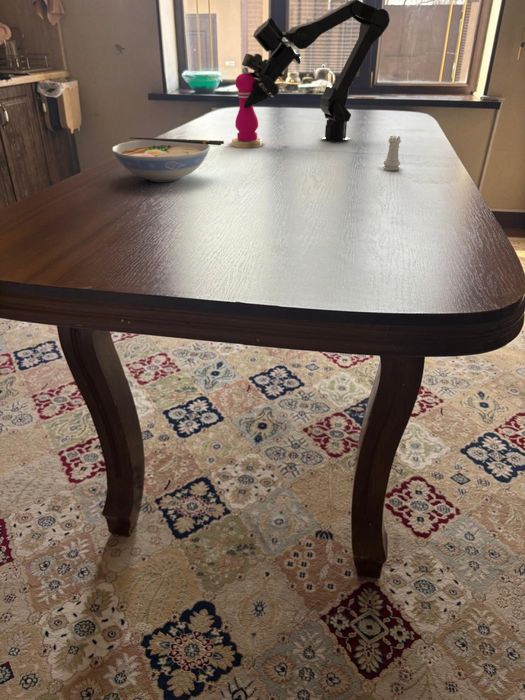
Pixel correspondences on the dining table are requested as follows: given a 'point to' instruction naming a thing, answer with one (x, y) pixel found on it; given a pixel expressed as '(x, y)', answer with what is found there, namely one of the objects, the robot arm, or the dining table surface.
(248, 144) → the beige flat disc
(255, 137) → the pepper mill
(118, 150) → the ramen bowl
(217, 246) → the dining table surface
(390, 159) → the rook chess piece
